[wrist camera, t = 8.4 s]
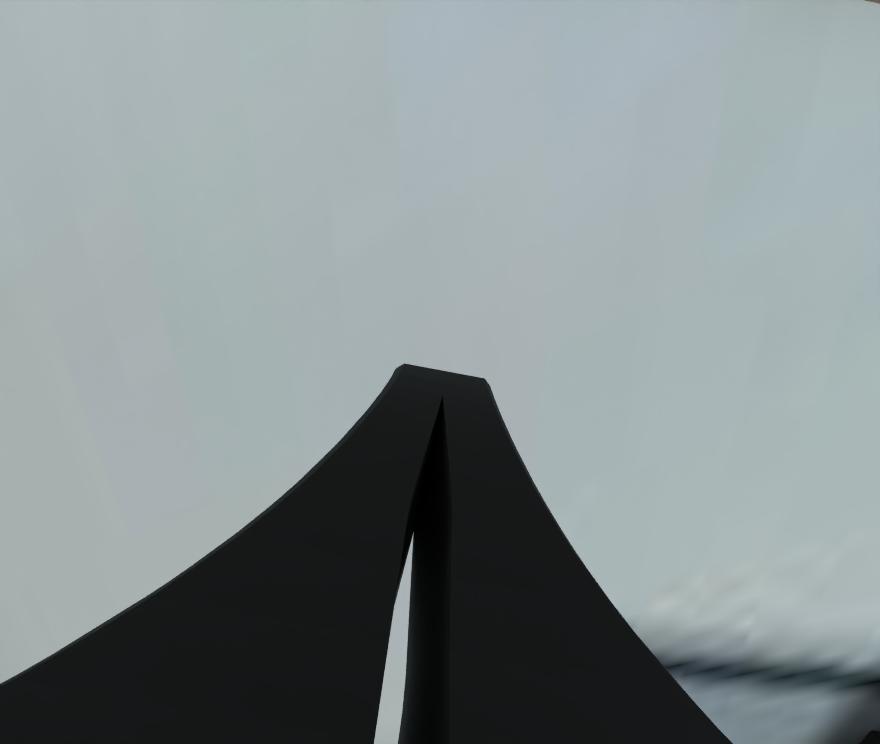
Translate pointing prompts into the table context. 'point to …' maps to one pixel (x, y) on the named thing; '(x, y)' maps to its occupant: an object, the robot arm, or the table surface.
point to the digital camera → (872, 738)
